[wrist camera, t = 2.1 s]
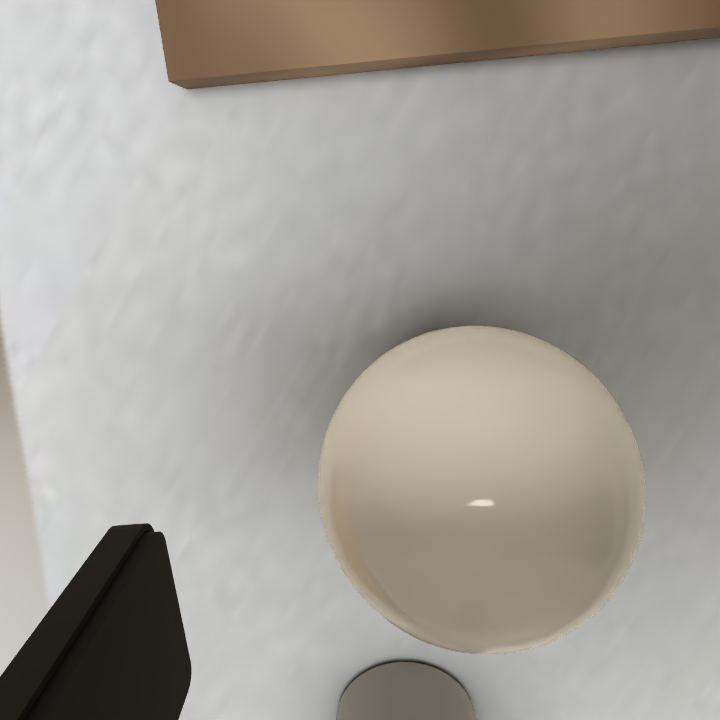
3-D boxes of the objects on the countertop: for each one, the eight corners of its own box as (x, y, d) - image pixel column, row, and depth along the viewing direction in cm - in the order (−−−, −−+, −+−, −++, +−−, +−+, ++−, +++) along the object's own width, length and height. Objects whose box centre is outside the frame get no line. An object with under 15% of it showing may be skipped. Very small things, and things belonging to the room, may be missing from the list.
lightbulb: (304, 357, 20) (212, 568, 9) (449, 225, 18) (541, 295, 8) (428, 483, 21) (475, 797, 10) (574, 369, 19) (802, 600, 9)
